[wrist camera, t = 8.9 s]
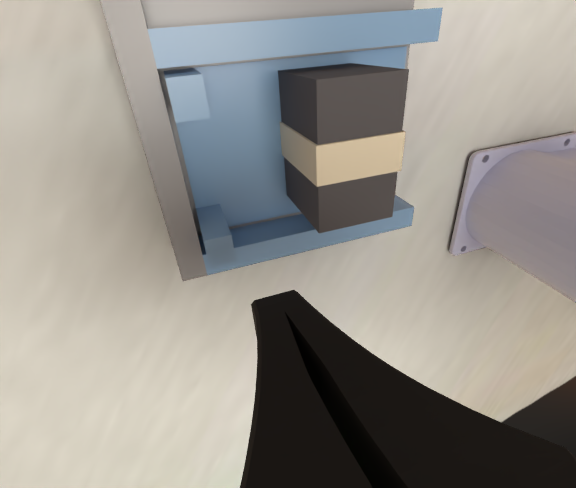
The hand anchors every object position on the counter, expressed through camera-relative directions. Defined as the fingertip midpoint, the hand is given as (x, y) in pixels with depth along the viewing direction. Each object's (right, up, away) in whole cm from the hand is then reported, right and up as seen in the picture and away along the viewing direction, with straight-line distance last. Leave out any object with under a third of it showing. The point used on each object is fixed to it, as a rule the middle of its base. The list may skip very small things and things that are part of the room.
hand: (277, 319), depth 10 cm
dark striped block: (+2, +8, +7) cm, 11 cm away
